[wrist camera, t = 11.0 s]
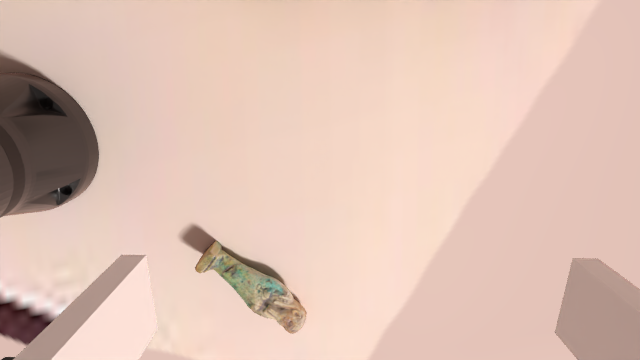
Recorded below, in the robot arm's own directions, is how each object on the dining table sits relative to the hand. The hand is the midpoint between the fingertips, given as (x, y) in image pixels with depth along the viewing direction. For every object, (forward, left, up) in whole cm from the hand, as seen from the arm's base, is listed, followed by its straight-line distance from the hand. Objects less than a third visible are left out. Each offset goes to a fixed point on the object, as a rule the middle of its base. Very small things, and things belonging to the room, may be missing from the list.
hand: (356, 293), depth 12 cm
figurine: (-9, -20, -31) cm, 38 cm away
